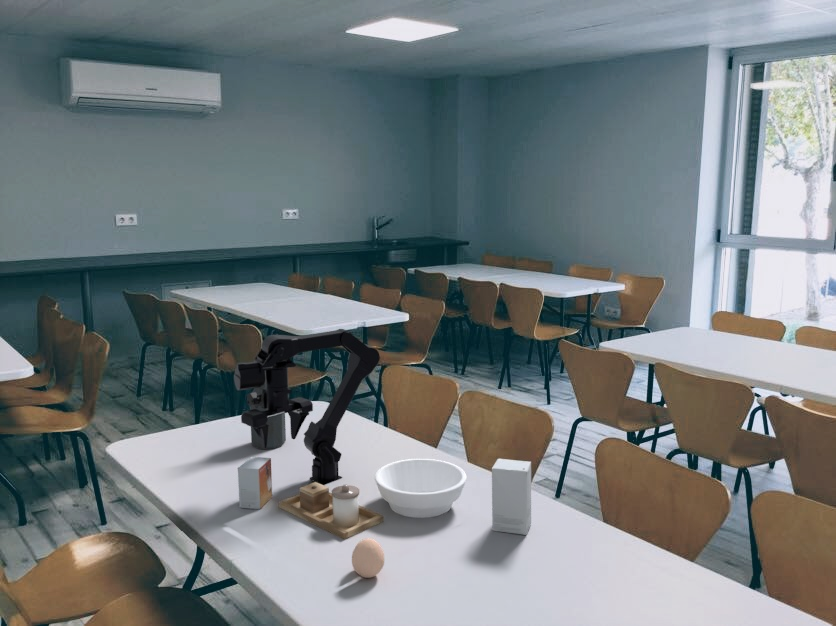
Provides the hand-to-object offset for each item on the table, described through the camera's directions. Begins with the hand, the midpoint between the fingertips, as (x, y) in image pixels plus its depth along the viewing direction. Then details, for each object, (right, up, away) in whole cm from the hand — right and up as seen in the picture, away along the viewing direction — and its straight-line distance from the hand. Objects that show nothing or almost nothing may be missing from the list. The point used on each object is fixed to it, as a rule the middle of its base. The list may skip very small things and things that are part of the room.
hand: (279, 443), depth 190 cm
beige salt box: (+11, -14, -10) cm, 20 cm away
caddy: (+15, -15, -14) cm, 25 cm away
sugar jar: (+19, -15, -18) cm, 30 cm away
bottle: (-10, -7, +35) cm, 37 cm away
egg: (+26, -20, -40) cm, 52 cm away
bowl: (+37, -15, -8) cm, 40 cm away
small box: (-5, -14, -6) cm, 16 cm away
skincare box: (+58, -16, -19) cm, 63 cm away
